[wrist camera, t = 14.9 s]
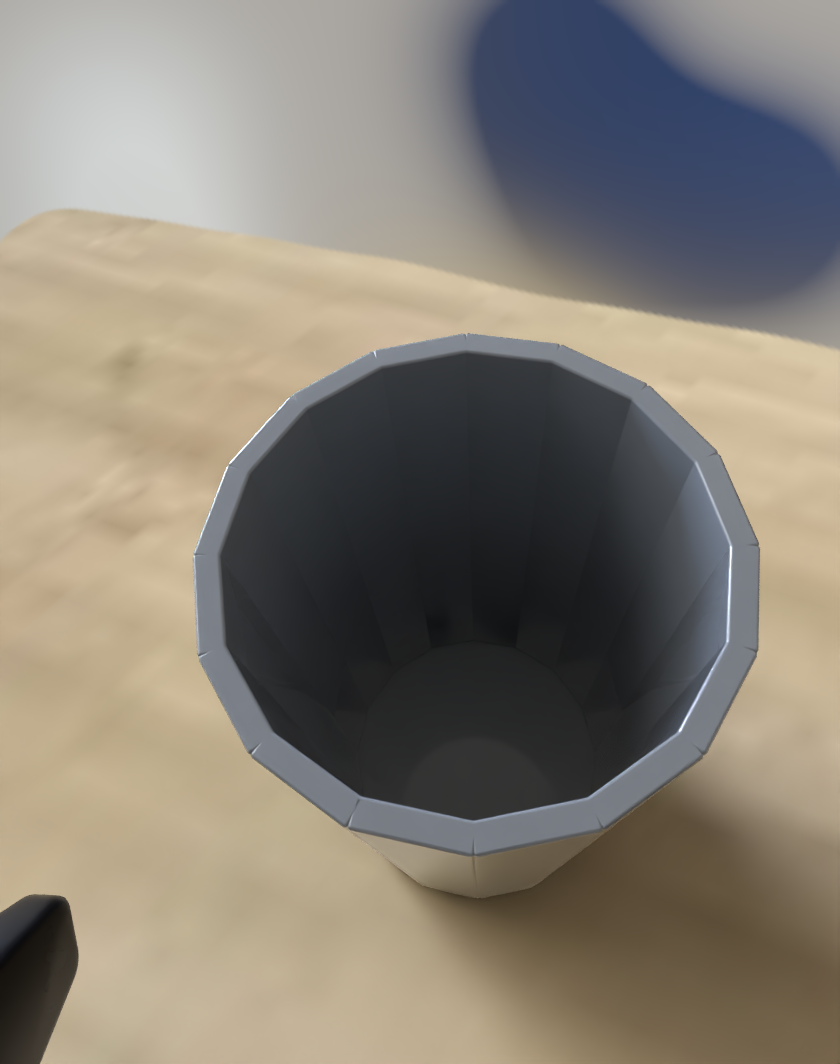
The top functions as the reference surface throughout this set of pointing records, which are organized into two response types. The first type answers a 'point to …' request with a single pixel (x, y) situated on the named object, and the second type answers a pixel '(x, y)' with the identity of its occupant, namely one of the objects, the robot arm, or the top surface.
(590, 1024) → the top surface
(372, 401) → the tumbler
